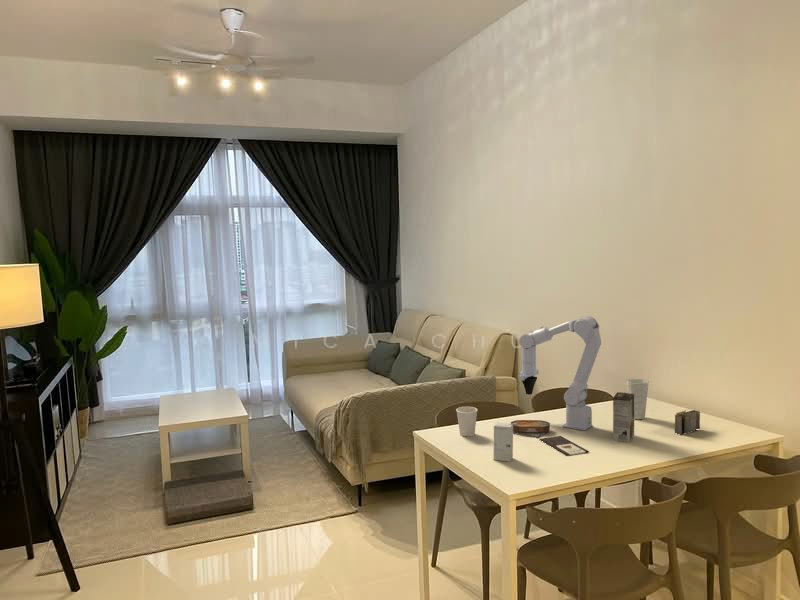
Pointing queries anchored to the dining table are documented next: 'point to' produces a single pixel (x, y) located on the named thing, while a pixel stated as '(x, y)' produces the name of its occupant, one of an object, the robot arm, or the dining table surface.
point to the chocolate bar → (564, 445)
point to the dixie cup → (467, 420)
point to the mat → (530, 434)
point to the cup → (638, 396)
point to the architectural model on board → (687, 421)
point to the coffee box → (623, 416)
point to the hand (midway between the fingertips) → (529, 394)
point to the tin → (530, 426)
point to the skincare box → (503, 441)
